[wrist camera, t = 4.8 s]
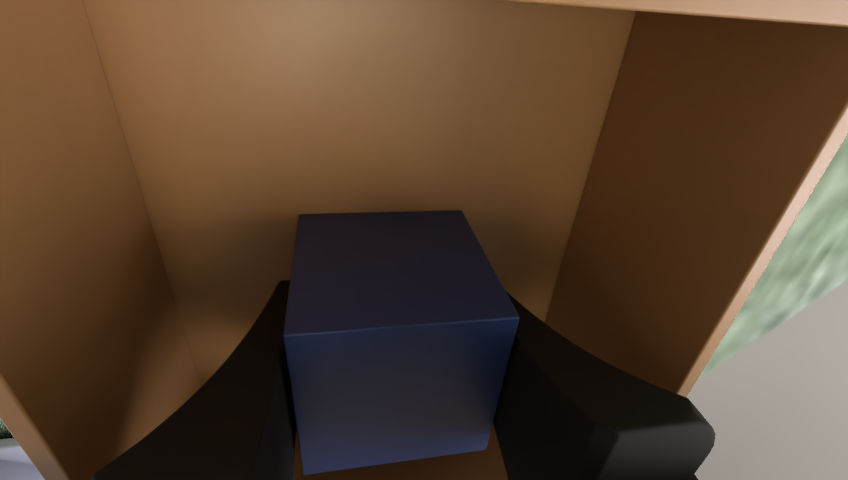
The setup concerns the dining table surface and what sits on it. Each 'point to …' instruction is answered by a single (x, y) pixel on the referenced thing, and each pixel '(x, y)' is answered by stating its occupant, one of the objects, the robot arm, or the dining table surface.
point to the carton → (386, 179)
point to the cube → (393, 338)
